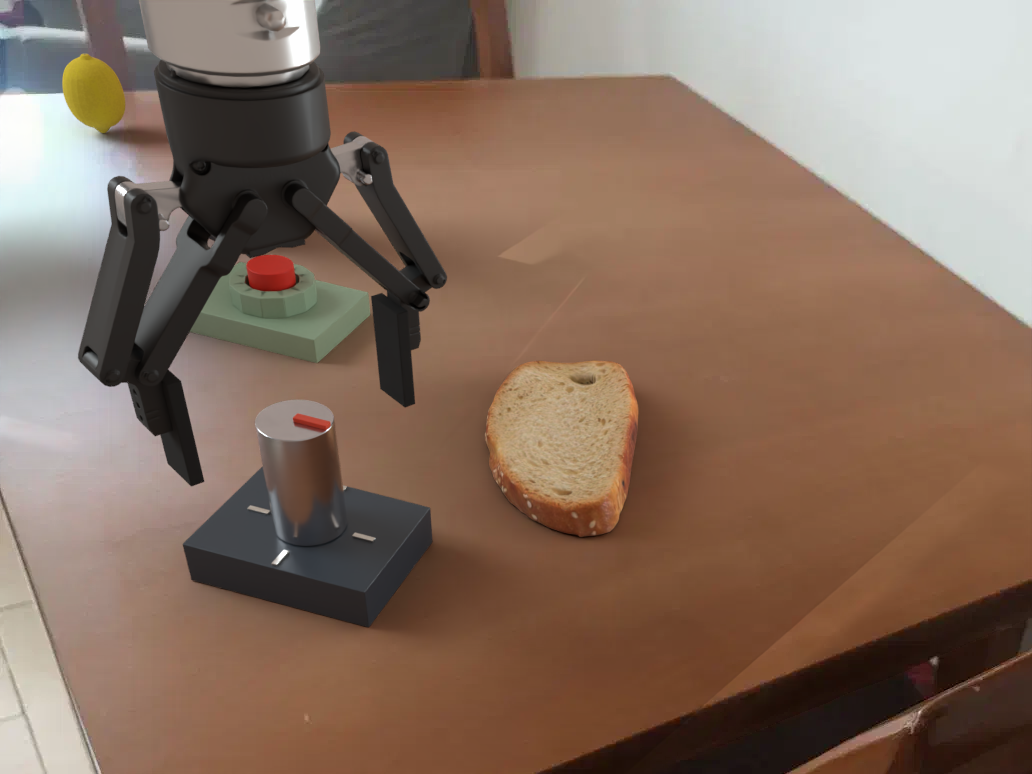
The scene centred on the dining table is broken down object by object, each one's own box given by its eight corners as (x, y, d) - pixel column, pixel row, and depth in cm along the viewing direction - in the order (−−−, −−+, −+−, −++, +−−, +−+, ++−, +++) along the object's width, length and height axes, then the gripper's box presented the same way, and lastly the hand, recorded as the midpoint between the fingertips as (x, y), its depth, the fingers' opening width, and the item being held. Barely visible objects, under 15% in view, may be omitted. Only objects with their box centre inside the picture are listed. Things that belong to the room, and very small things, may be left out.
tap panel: (191, 580, 70) (181, 541, 68) (270, 499, 77) (263, 462, 75) (369, 628, 69) (364, 590, 67) (433, 541, 76) (430, 505, 74)
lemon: (61, 133, 117) (40, 53, 112) (104, 119, 121) (86, 41, 116) (102, 147, 116) (83, 67, 111) (144, 132, 120) (127, 54, 115)
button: (240, 288, 91) (236, 268, 90) (264, 270, 94) (261, 250, 93) (281, 297, 91) (278, 278, 90) (304, 279, 94) (302, 260, 93)
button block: (181, 330, 92) (171, 285, 89) (243, 284, 99) (236, 241, 96) (317, 363, 91) (311, 319, 88) (370, 315, 98) (366, 272, 95)
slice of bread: (580, 552, 77) (582, 510, 75) (405, 441, 84) (402, 399, 82) (736, 451, 89) (742, 411, 87) (572, 361, 96) (573, 322, 94)
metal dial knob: (260, 536, 70) (238, 425, 65) (297, 496, 73) (279, 388, 68) (325, 553, 70) (309, 443, 64) (360, 512, 73) (347, 405, 68)
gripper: (-18, 130, 44) (112, 546, 57) (501, 51, 59) (507, 394, 73) (-90, 72, 47) (49, 477, 61) (418, 11, 63) (438, 345, 76)
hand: (298, 432), depth 67 cm, fingers open, 13 cm apart
